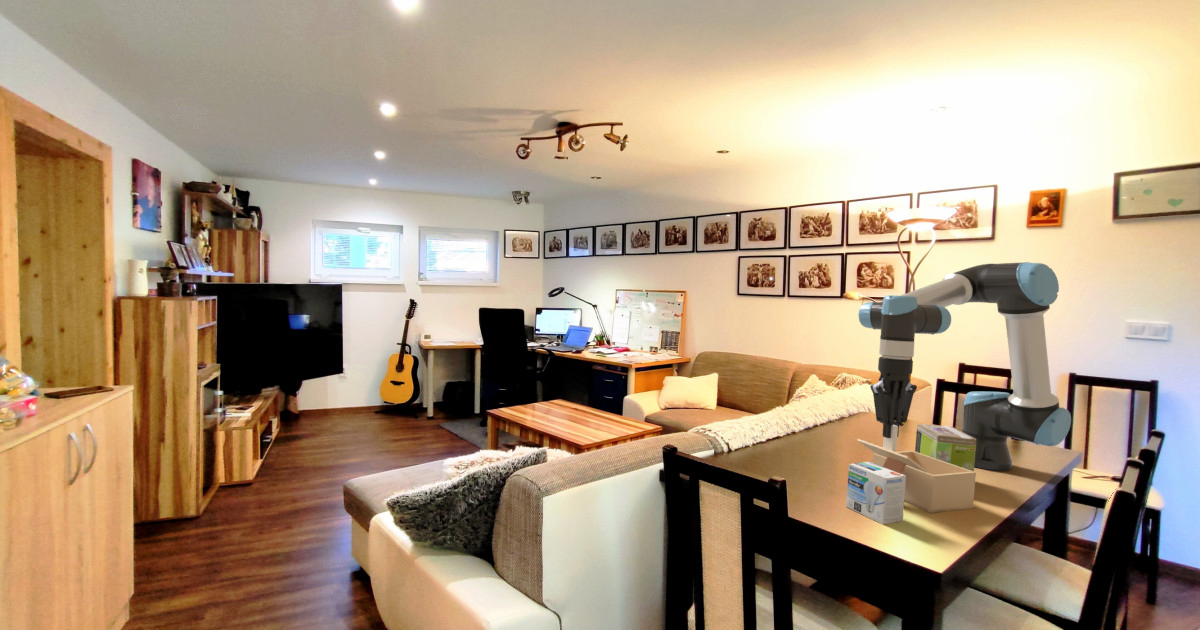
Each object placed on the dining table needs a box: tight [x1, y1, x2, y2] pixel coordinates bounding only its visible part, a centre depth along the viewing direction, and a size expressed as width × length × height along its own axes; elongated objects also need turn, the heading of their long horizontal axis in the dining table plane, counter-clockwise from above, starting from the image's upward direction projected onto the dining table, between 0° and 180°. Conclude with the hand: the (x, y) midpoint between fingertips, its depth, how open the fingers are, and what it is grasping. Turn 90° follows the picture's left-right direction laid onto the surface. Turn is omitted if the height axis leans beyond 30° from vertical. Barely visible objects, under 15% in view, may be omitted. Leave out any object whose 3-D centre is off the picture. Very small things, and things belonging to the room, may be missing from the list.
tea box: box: [914, 423, 976, 472], centre depth 152 cm, size 15×10×15 cm, turn 168°
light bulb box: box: [845, 461, 906, 525], centre depth 126 cm, size 11×7×11 cm, turn 23°
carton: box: [872, 450, 977, 514], centre depth 139 cm, size 14×18×9 cm
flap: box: [856, 438, 927, 474], centre depth 135 cm, size 8×15×8 cm
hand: (889, 450), depth 135 cm, fingers closed
